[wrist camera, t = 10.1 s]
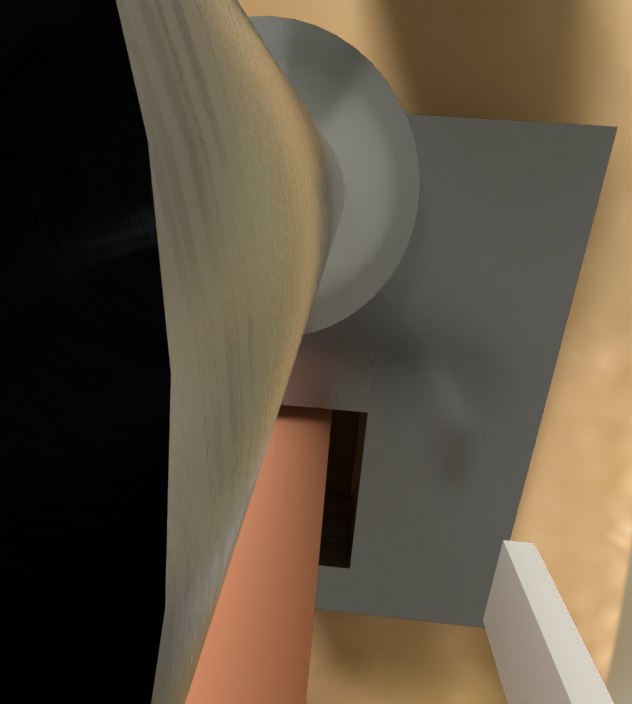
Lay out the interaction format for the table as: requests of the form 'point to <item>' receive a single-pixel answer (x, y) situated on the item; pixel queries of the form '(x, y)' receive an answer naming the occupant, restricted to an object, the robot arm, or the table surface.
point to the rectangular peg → (271, 574)
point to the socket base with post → (254, 327)
